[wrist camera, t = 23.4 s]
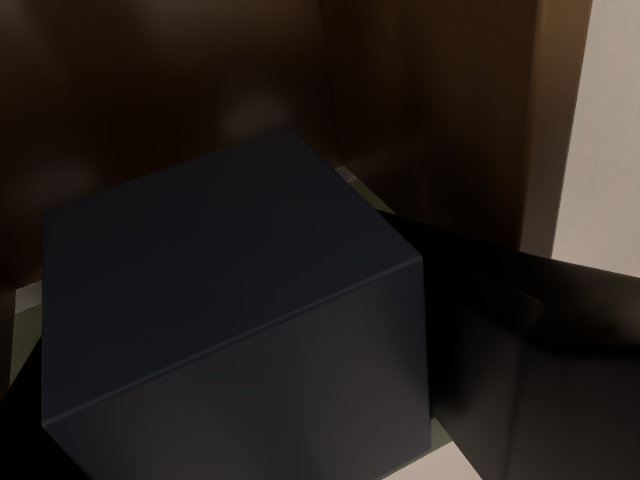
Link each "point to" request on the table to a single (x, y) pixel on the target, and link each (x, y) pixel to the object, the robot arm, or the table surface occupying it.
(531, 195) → the drawer
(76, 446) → the block
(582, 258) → the table surface
